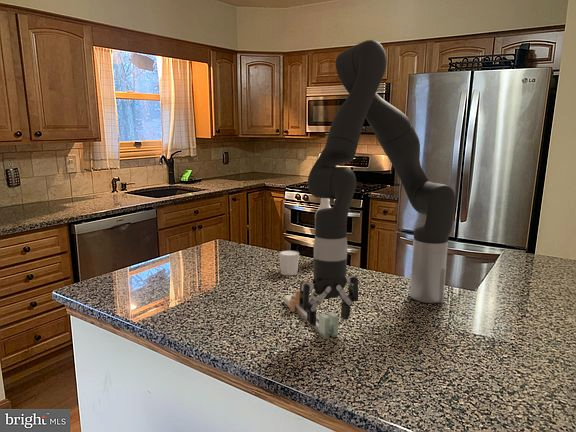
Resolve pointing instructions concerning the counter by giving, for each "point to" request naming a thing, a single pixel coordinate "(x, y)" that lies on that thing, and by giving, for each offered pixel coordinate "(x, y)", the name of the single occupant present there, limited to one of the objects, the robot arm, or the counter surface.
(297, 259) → the shot glass
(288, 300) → the block
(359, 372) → the counter surface
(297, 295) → the stepped wooden block
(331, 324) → the leg
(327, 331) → the leg
